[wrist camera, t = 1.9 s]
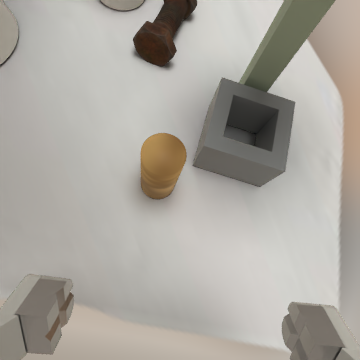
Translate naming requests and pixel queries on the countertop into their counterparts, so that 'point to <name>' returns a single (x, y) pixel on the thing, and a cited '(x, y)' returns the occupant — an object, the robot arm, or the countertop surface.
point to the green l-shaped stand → (283, 40)
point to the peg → (161, 164)
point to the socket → (250, 121)
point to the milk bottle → (123, 4)
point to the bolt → (162, 32)
